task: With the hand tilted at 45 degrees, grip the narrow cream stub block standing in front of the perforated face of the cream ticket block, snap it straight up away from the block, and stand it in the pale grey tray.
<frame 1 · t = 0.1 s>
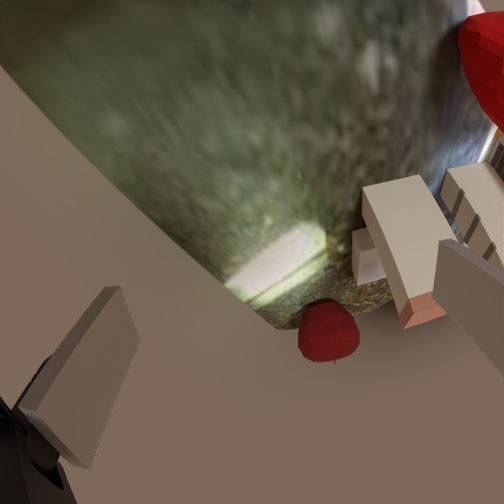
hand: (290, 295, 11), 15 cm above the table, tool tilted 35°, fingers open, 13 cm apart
ticket block: (464, 177, 28), on the table
tomato: (483, 50, 14), on the table
stub: (390, 194, 30), on the table
tray: (391, 240, 37), on the table
apple: (321, 302, 53), on the table
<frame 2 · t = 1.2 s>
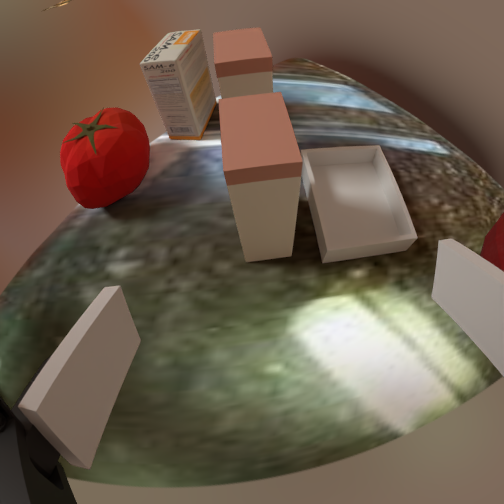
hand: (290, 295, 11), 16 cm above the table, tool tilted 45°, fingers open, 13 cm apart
ticket block: (252, 150, 35), on the table
tomato: (123, 180, 35), on the table
stub: (264, 227, 30), on the table
supplement box: (194, 122, 38), on the table
tray: (352, 206, 31), on the table
apple: (490, 280, 26), on the table
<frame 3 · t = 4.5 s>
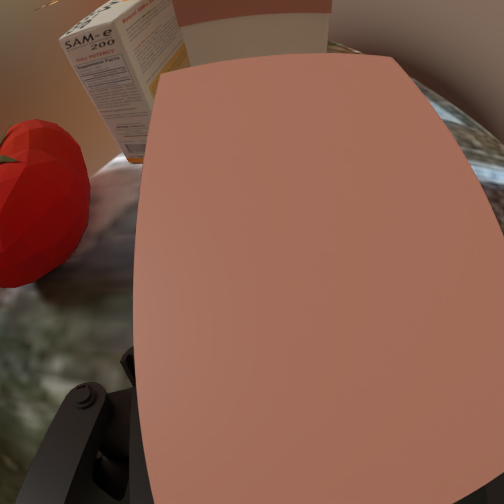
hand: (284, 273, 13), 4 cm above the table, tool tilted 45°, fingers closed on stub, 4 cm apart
ticket block: (263, 183, 20), on the table
tomato: (60, 233, 21), on the table
stub: (289, 344, 16), on the table, touching gripper
supplement box: (168, 132, 24), on the table
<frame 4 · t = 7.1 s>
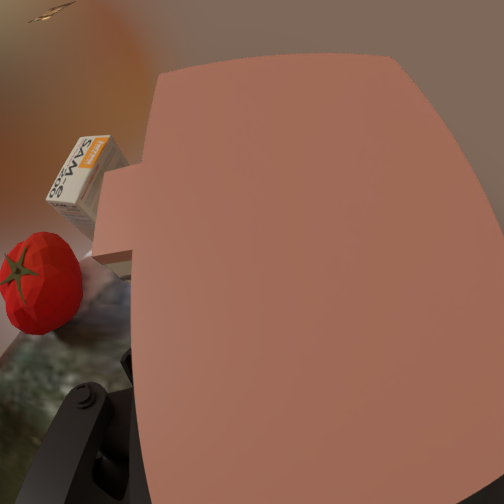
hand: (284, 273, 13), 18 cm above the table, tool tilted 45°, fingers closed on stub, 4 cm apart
ticket block: (183, 276, 32), on the table
tomato: (65, 297, 32), on the table
stub: (288, 345, 16), point 14 cm above the table, touching gripper
supplement box: (128, 228, 36), on the table
when the fingers open (6 cm above the table, at t = 9.6 s): stub stays where it is, resting on tray.
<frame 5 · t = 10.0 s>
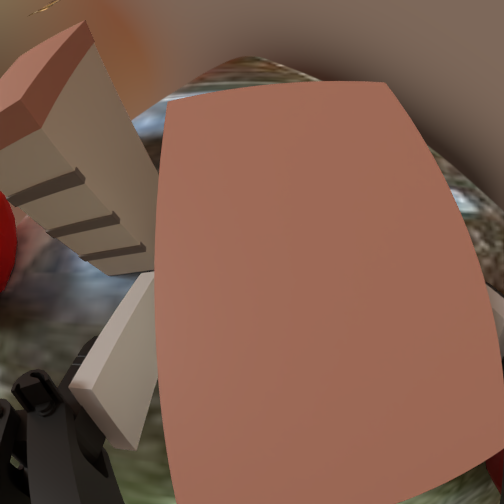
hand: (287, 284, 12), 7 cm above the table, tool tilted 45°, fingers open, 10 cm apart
ticket block: (136, 229, 21), on the table
tomato: (2, 266, 21), on the table
stub: (288, 346, 16), point 1 cm above the table, touching tray
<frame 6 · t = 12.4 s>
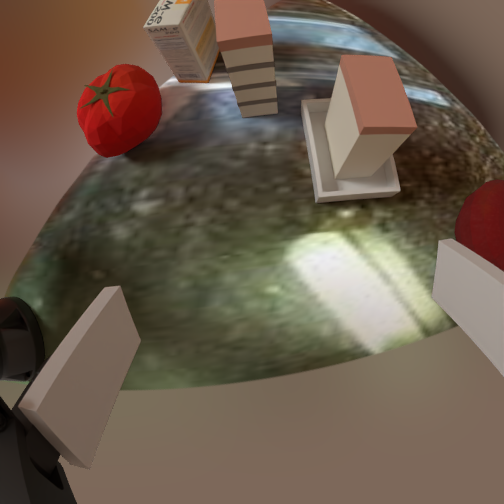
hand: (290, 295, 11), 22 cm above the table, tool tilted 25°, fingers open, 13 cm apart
ticket block: (257, 93, 34), on the table
tomato: (138, 124, 36), on the table
stub: (347, 150, 32), point 1 cm above the table, touching tray
supplement box: (201, 63, 36), on the table
tray: (346, 151, 33), on the table
apple: (469, 234, 31), on the table
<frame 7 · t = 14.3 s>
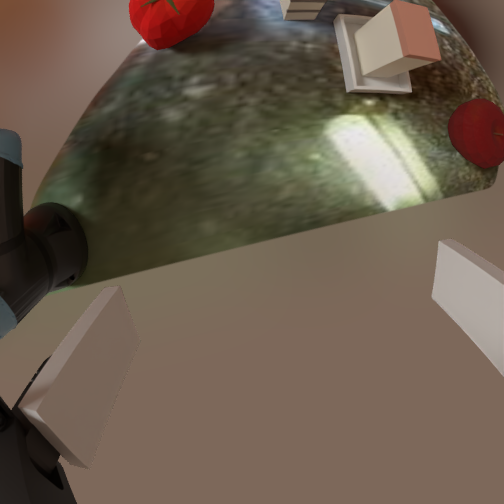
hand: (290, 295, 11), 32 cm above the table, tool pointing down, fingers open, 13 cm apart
ticket block: (295, 1, 30), on the table
tomato: (179, 20, 31), on the table
stub: (370, 55, 33), point 1 cm above the table, touching tray
tray: (369, 56, 33), on the table
apple: (457, 130, 37), on the table
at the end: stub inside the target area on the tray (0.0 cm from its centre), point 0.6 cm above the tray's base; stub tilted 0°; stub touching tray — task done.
